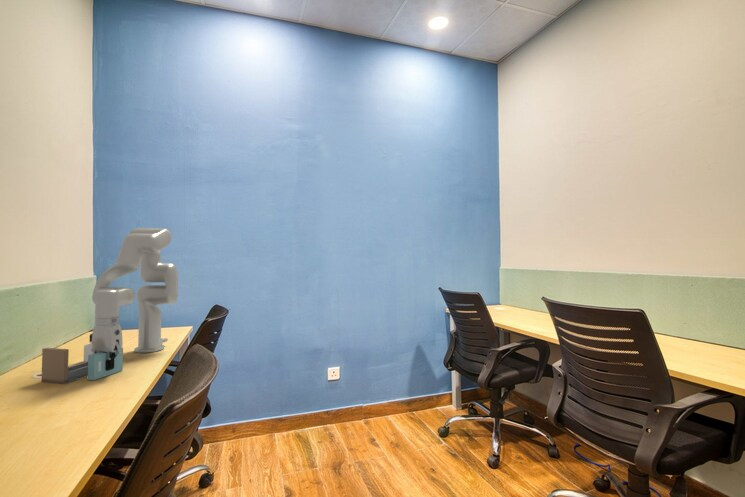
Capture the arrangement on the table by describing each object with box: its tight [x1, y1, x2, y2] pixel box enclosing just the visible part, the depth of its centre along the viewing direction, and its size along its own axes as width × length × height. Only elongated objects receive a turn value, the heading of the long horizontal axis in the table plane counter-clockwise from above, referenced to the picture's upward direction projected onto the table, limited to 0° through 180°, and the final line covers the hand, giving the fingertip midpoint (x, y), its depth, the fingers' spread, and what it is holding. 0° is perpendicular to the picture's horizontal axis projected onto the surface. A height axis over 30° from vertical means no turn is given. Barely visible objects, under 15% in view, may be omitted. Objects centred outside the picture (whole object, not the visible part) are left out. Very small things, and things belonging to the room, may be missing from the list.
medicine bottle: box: [83, 332, 95, 363], centre depth 161 cm, size 7×7×12 cm
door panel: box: [87, 347, 124, 381], centre depth 141 cm, size 12×3×9 cm, turn 168°
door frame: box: [41, 347, 88, 385], centre depth 143 cm, size 22×10×12 cm, turn 168°
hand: (105, 368), depth 141 cm, fingers closed on door panel, 3 cm apart
